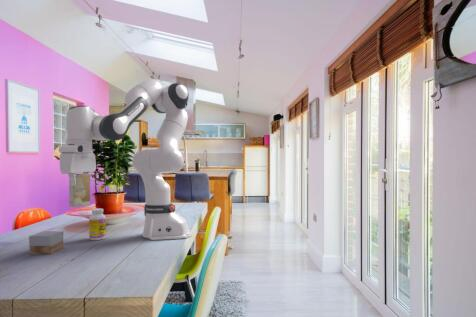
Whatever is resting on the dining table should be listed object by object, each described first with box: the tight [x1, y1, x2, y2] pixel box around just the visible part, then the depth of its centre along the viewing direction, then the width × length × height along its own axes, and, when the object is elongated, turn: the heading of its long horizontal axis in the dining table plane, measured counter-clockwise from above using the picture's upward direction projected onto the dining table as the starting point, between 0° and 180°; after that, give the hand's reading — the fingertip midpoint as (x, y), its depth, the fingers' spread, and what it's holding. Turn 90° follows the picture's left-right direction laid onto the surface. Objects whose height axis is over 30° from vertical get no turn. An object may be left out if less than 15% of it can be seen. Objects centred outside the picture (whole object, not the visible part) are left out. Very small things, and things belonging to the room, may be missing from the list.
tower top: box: [28, 230, 64, 247], centre depth 121 cm, size 8×8×4 cm
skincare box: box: [68, 173, 91, 208], centre depth 121 cm, size 6×4×12 cm
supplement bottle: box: [88, 208, 107, 241], centre depth 139 cm, size 7×7×13 cm
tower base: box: [29, 240, 64, 255], centre depth 121 cm, size 8×8×4 cm
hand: (79, 184), depth 121 cm, fingers closed on skincare box, 7 cm apart
